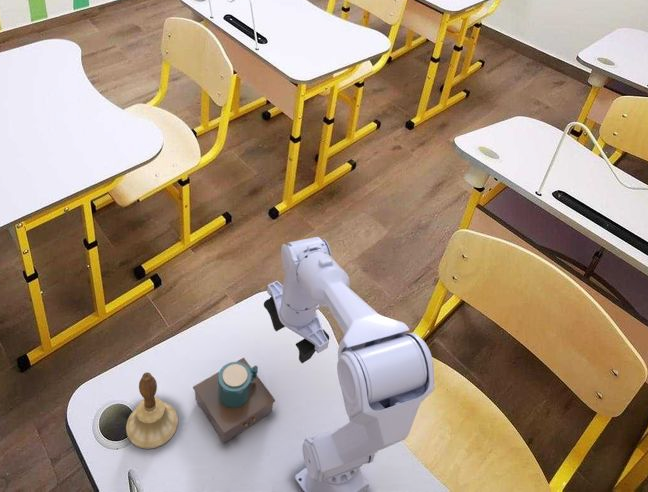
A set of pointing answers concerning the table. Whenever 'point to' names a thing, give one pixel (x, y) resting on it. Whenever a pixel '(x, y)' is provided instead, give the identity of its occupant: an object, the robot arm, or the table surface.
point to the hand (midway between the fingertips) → (292, 343)
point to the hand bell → (151, 418)
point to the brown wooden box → (233, 419)
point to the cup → (235, 384)
